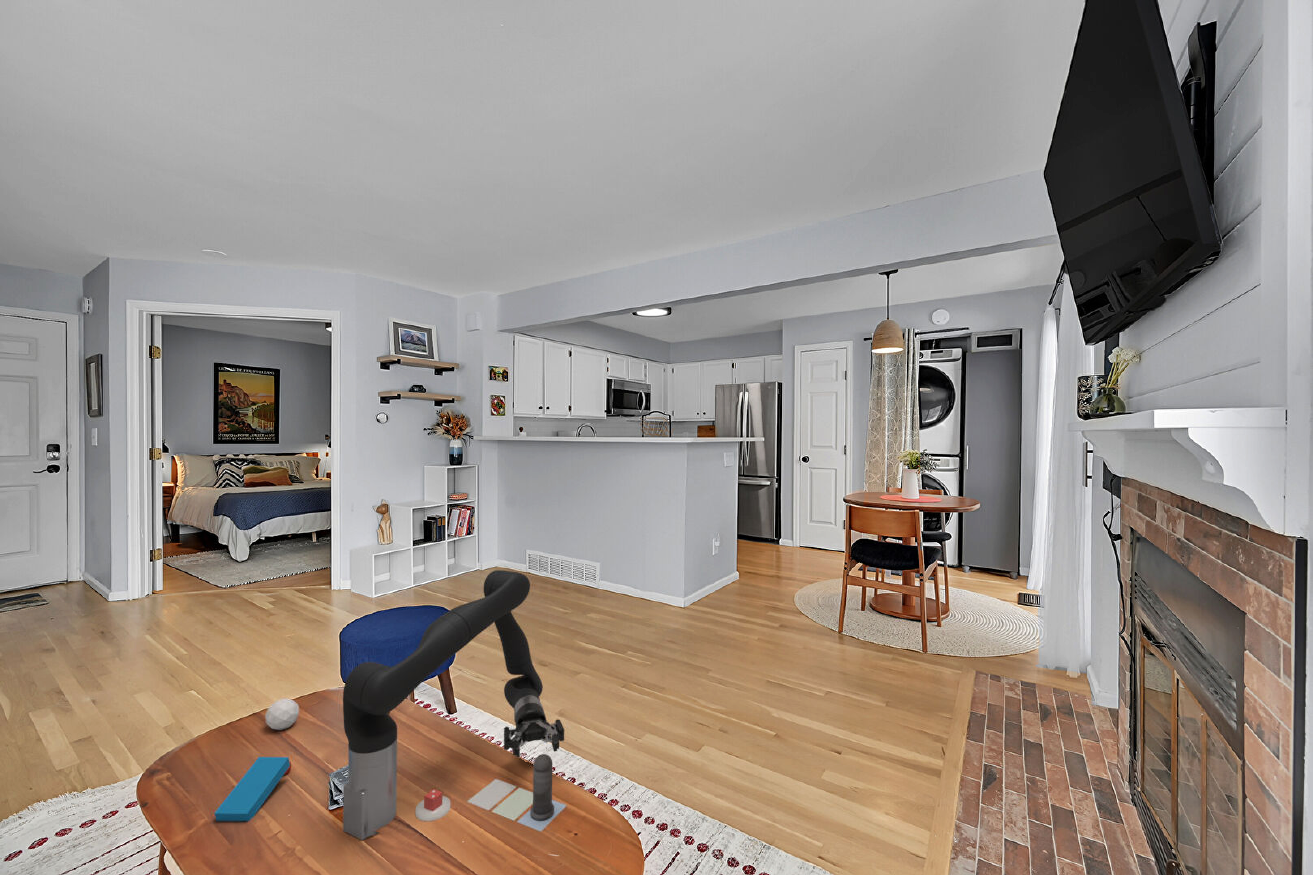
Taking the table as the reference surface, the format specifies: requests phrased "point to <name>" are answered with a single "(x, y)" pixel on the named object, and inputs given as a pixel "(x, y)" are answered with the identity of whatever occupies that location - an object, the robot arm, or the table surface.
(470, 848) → the table surface
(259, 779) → the lever
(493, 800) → the game board
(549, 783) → the charcoal pawn
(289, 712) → the geometric ball
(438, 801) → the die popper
